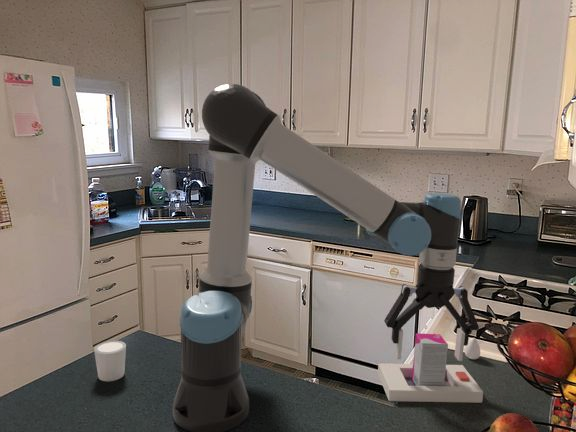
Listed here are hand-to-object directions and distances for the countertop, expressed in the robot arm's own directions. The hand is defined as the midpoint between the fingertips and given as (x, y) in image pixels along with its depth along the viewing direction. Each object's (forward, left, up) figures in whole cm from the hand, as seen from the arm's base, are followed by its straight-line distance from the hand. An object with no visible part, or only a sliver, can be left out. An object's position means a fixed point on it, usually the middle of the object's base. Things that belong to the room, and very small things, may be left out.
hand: (427, 357), depth 107 cm
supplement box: (0, 0, -7) cm, 7 cm away
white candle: (-72, +3, -7) cm, 72 cm away
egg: (+16, +15, -7) cm, 23 cm away
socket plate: (0, 0, -7) cm, 7 cm away
